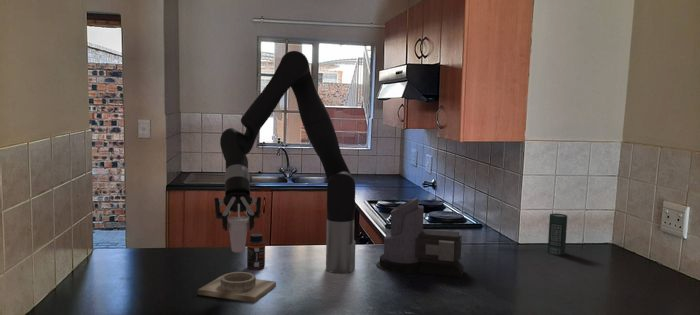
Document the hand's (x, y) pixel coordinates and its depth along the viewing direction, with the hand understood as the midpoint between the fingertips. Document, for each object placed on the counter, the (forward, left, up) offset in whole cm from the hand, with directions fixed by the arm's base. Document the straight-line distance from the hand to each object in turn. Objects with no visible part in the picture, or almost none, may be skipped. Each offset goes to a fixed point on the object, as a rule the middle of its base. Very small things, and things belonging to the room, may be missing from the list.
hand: (238, 229), depth 153 cm
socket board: (+1, -1, -19) cm, 19 cm away
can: (-94, -81, -19) cm, 126 cm away
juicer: (-46, -43, -19) cm, 66 cm away
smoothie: (+1, -1, -7) cm, 7 cm away
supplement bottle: (+6, -23, -19) cm, 31 cm away
